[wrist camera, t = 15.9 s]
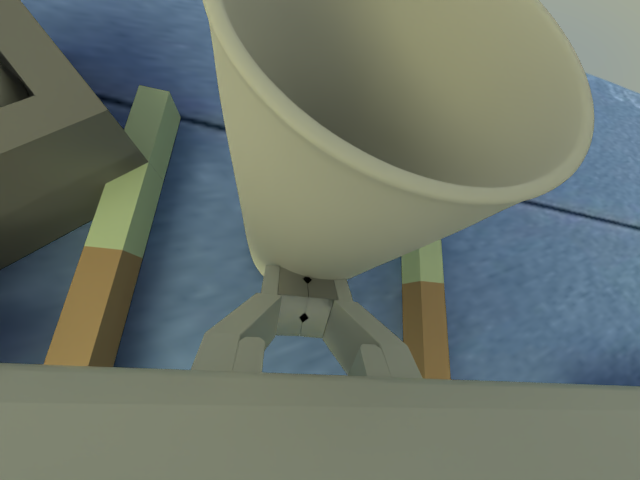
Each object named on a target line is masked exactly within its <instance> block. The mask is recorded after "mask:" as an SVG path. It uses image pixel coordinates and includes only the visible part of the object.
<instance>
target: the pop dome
mask: <svg viewBox="0 0 640 480" xmlns="http://www.w3.org/2000/svg"><path fill="white" fill-rule="evenodd" d="M26 98H29V96H28V94H27V91H26V89H25V87H24V86H23V84H22V83H21V82H20V80H19V79H18V78H17V77H16V76H15V75H14V74H13V73H12V72H11V71H10V70H9V69H8V68H6V67H5V66H4V65H3V64H2V63H1V62H0V108H1V107H4V106H7V105H9V104H12V103H15V102H18V101H21V100H23V99H26Z"/></svg>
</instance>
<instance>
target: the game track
mask: <svg viewBox="0 0 640 480" xmlns="http://www.w3.org/2000/svg"><path fill="white" fill-rule="evenodd" d="M180 119H181V117H180V115H179V112H178V110H177V108H176V106H175V103H174V101H173V99H172V96H171V94H170V92H169V91H164V90H159V89H155V88H150V87H146V86H141V85H139V87H138V90H137V93H136V96H135V99H134V102H133V105H132V108H131V111H130V114H129V117H128V119H127V122H126V125H125V128H124V131H125V132H126V134H127V135H128V136H129V137H130V139H131V140H132V141H133V143H134V144H135V145H136V146H137V148H138V149H139V150H140V152H141V153H142V154H143V155H144V157H145V158H146V159H147V160H148V163H146V164H144V165H142V166H140V167H138V168H136V169H134V170H132V171H130V172H128V173H126V174H124V175H122V176H120V177H118V178H116V179H114V180H112V181H110V182H108V183H106V184H105V187H104V190H103V192H102V195H101V198H100V201H99V204H98V207H97V210H96V213H95V216H94V219H93V222H92V225H91V227H90V230H89V233H88V236H87V239H86V242H85V245H84V248H83V251H82V254H81V257H80V260H79V262H78V265H77V268H76V271H75V274H74V277H73V280H72V283H71V286H70V289H69V292H68V295H67V297H66V300H65V303H64V306H63V309H62V312H61V315H60V318H59V321H58V324H57V327H56V330H55V332H54V335H53V338H52V341H51V344H50V347H49V350H48V353H47V356H46V359H45V362H44V365H69V366H97V367H113V366H114V362H115V358H116V355H117V351H118V347H119V344H120V340H121V336H122V332H123V329H124V325H125V321H126V318H127V314H128V310H129V307H130V303H131V299H132V296H133V292H134V288H135V285H136V281H137V277H138V274H139V270H140V266H141V262H142V259H143V255H144V251H145V248H146V244H147V240H148V237H149V233H150V229H151V226H152V222H153V218H154V215H155V211H156V207H157V204H158V200H159V196H160V193H161V189H162V185H163V181H164V178H165V174H166V170H167V167H168V163H169V159H170V156H171V152H172V148H173V145H174V141H175V137H176V134H177V130H178V126H179V123H180ZM150 164H151V165H150ZM154 169H155V170H154ZM161 178H162V179H161ZM401 260H402V304H403V342H404V343H405V344H406V345H407V346H408V348H409V350H410V352H411V354H412V356H413V358H414V361H415V363H416V365H417V367H418V369H419V371H420V373H421V376H422V378H424V379H451V377H450V363H449V349H448V334H447V320H446V305H445V291H444V276H443V262H442V247H441V239H440V240H438V241H435V242H433V243H431V244H428V245H426V246H424V247H421V248H419V249H417V250H414V251H412V252H410V253H407V254H405V255H403V256H401Z"/></svg>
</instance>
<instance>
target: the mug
mask: <svg viewBox="0 0 640 480" xmlns="http://www.w3.org/2000/svg"><path fill="white" fill-rule="evenodd" d="M203 4H204V7H205V11H206V14H207V17H208V19H209V25H210V31H211V38H212V45H213V52H214V59H215V67H216V74H217V81H218V88H219V95H220V101H221V107H222V112H223V118H224V123H225V128H226V134H227V139H228V144H229V149H230V154H231V159H232V164H233V169H234V174H235V180H236V185H237V190H238V195H239V200H240V205H241V210H242V215H243V221H244V226H245V232H246V237H247V241H248V246H249V249H250V253H251V257H252V259H253V262H254V264H255V266H256V267H257V269H258V270H259V272H260V273H261V274H262V275H263V276H264V272H265V266H266V265H273V266H279V267H283V268H285V269H287V270H289V271H291V272H294V273H297V274H300V275H303V276H306V277H312V278H318V279H328V280H337V279H346V280H347V279H349V278H352V277H354V276H356V275H358V274H361V273H363V272H365V271H368V270H370V269H372V268H375V267H377V266H379V265H382V264H384V263H386V262H389V261H391V260H393V259H396V258H398V257H400V256H403V255H405V254H407V253H410V252H412V251H414V250H417V249H419V248H421V247H424V246H426V245H428V244H431V243H433V242H435V241H438V240H440V239H442V238H444V237H447V236H449V235H451V234H454V233H456V232H458V231H460V230H463V229H465V228H467V227H469V226H471V225H473V224H475V223H477V222H479V221H481V220H483V219H485V218H487V217H490V216H492V215H494V214H496V213H498V212H500V211H502V210H504V209H507V208H509V207H511V206H513V205H515V204H518V203H520V202H522V201H526V200H529V199H532V198H535V197H538V196H541V195H543V194H545V193H547V192H549V191H551V190H553V189H554V188H556V187H558V186H559V185H561V184H562V183H563V182H565V181H566V180H567V179H568V178H569V177H571V176H572V175H573V173H574V172H575V171H576V170H577V169H578V167H579V166H580V165H581V163H582V162H583V160H584V158H585V156H586V154H587V152H588V149H589V147H590V144H591V140H592V136H593V130H594V107H593V100H592V95H591V90H590V87H589V83H588V80H587V77H586V74H585V72H584V70H583V67H582V65H581V63H580V60H579V58H578V56H577V54H576V53H575V51H574V49H573V47H572V45H571V43H570V42H569V40H568V38H567V37H566V36H565V34H564V32H563V31H562V29H561V28H560V27H559V25H558V24H557V22H556V21H555V19H554V18H553V17H552V16H551V14H550V13H549V12H548V11H547V9H546V8H545V7H544V6H543V5H542V4H541V2H540V1H539V0H203Z"/></svg>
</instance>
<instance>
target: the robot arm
mask: <svg viewBox="0 0 640 480" xmlns="http://www.w3.org/2000/svg"><path fill="white" fill-rule="evenodd" d="M299 334H300V336H304V337H315V338H323V341H324V342H325V344H326V345H327V346H328V348H329V349H330V351H331V352H332V354H333V355H334V356H335V358H336V359H337V361H338V362H339V364H340V365H341V366H342V368H343V369H344V371H345V372H346V374H347V375H348V376H344V375H316V374H289V373H262V366H263V356H264V351H265V349H266V348H267V347H268V345H269V344H270V343H271V341H272V340H273V339H274V338H275V335H284V336H299ZM0 480H640V386H617V385H589V384H562V383H535V382H507V381H480V380H452V379H424V378H422V376H421V373H420V371H419V369H418V367H417V365H416V363H415V361H414V358H413V356H412V354H411V352H410V350H409V348H408V346H407V345H406V344H405V343H404V342H403V341H401V340H400V339H399V338H398V337H397V336H396V335H394V334H393V333H392V332H391V331H390V330H389V329H388V328H386V327H385V326H384V325H383V324H382V323H381V322H379V321H378V320H377V319H376V318H375V317H374V316H373V315H371V314H370V313H369V312H368V311H367V310H366V309H364V308H363V307H362V306H361V305H360V304H359V303H357V302H353V299H352V296H351V292H350V289H349V286H348V283H347V280H346V279H337V280H328V279H318V278H312V277H306V276H303V275H300V274H297V273H294V272H291V271H289V270H287V269H285V268H283V267H279V266H273V265H266V266H265V272H264V278H263V283H262V289H261V293H256V294H255V295H253V296H252V297H251V298H249V299H248V300H247V301H246V302H244V303H243V304H242V305H240V306H239V307H238V308H237V309H235V310H234V311H233V312H231V313H230V314H229V315H227V316H226V317H225V318H224V319H222V320H221V321H220V322H218V323H217V324H216V325H215V326H213V327H212V328H211V329H209V330H208V331H207V332H205V334H204V337H203V339H202V342H201V345H200V347H199V350H198V352H197V355H196V357H195V360H194V363H193V365H192V368H191V370H179V369H151V368H124V367H97V366H69V365H42V364H14V363H0Z"/></svg>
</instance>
